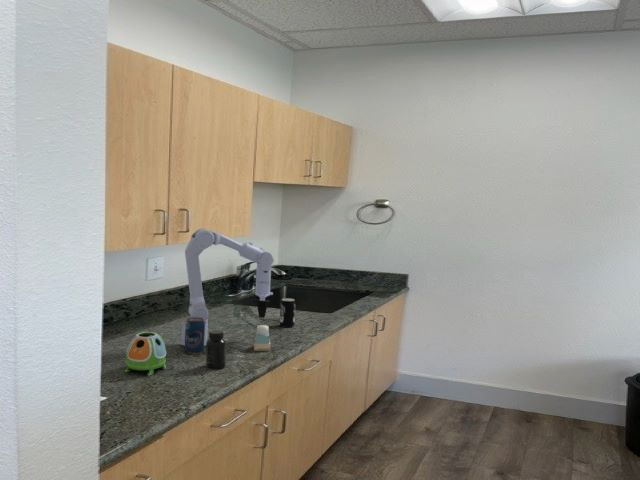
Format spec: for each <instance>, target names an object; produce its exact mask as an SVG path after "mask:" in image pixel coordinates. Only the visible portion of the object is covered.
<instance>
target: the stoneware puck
mask: <svg viewBox="0 0 640 480" xmlns="http://www.w3.org/2000/svg"><path fill="white" fill-rule="evenodd" d="M269 330H270V327H269V325H266V324H260V325H259V324H257V325H256V332H257V335H262V336H265V335H268V333H270V332H269Z"/></svg>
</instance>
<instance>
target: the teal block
mask: <svg viewBox="0 0 640 480" xmlns="http://www.w3.org/2000/svg"><path fill="white" fill-rule="evenodd" d="M255 340H256V344H269V340H270V332H268V335H265V336H262V335H257V331H256V332H255Z"/></svg>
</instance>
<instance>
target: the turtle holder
mask: <svg viewBox="0 0 640 480" xmlns="http://www.w3.org/2000/svg"><path fill="white" fill-rule="evenodd" d="M166 348H167V347H166V345H165V342H164V339H163V336H162V335H160V334H159V333H157V332H154V331H142V332H139V333H136V334H135V337H134V338H132V339H131V341H130V343H129V345H128V346H127V349H126V352H125V365H126V367H127V368H126V369H125V372H126V373H130V372H132V370H134V371H148V372H147V375H146V376H148V377H151V376H153V375H154V374H155V373H154V372H155V370H156V369H159V368H161V370H162V369H164V370H166V369H167V366H166V362H167V360H166V355H167V349H166ZM150 375H151V376H150Z"/></svg>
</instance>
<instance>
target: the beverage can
mask: <svg viewBox="0 0 640 480" xmlns="http://www.w3.org/2000/svg"><path fill="white" fill-rule="evenodd" d="M279 307H280V311H279V326H280V327H282V328H292V327H294V326H295V320H296V317H295V316H296V301H295V299H294V298H289V297H288V298H287V297H284V298H282V299H281V301H280V306H279Z"/></svg>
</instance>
